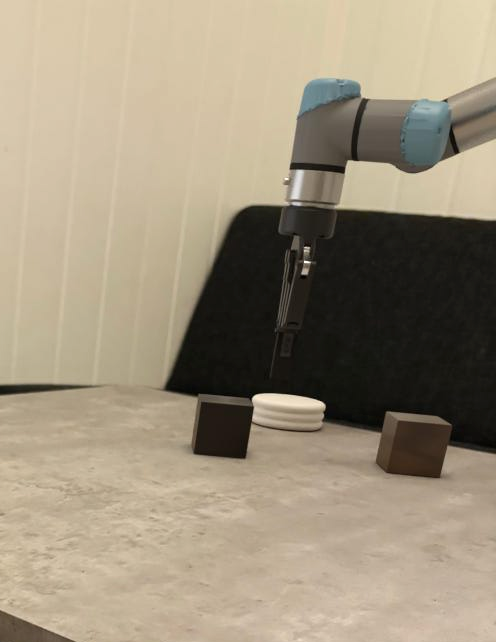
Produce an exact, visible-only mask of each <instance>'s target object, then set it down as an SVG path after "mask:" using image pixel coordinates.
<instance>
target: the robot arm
mask: <svg viewBox="0 0 496 642" xmlns="http://www.w3.org/2000/svg"><path fill="white" fill-rule="evenodd" d="M361 91H362V86H361V84H360V83H359V82H358V81H355V80H352V79H346V78H336V77H333V78H332V77H325V78H324V77H321V78H315V79H312V80H310V81H308V82H307V83H306V85H305V86H304V89H303V92H302V96H301V102H300V105H299V110H298V114H297V116H296V118H295V119H296V125H295V130H294V131H295V132H294V138H293V145H292V150H291V151H292V152H291V158H290V164H289V169H288V170H289V171H288V177H283V179H282V185H284V186H287V187H286V188H285V193H284V198H283V200H284V201H285V202H287V205H283V208H281V214H280V219H279V225H278V233H279V234H280V235H285V236H293V240H292V243H291V247H290V249H286V252H285V255H284V256H285V257H284V270H283V271H284V273H283V277H282V280H283V281H282V286H281V293H280V301H279V306H278V307H279V308H278V313H277V319H276V326H277V327H275V328H274V333H276V337H275V342H274V343H275V344H274V349H273V353H272V354H273V355H272V360H271V366H270V372H269V379H270V380H279V381H290V377H291V372H292V367H293V361H294V356H295V351H296V344H297V340H298V334H301V332H302V329H303V322H304V318H305V313H306V309H307V305H308V300H309V295H310V290H311V286H312V281H313V277H314V274H315V271H316V269H317V265H318V264H317V263H318V257H319V252H317V251H316V244H317V243H316V240H317V239H331V238H332V237H333V236H334V233H335V227H336V223H337V218H338V217H337V216H338V212H337V210H336V209H335V207H336V206H338V205H340V202H341V198H342V193H343V189H344V188H343V187H344V182H345V177H346V167H347V164H348V161H350V162H351V161H352V162H366V163H377V164H389V165H392V166H393V167H395V168H396V169H398V170H399V171H401V172H404V173H406V174H410V175H411V174H412V175H413V174H420V173H423V172H427V171H428V170H431V169H432V168H434V167H435V166H436V165H438V164H439V163H441V162H443V161H445V160H448V159H450V158H453V157H454V156H457V155H459V154H461V153H464V152H466V151H469V150H472V149H474V148H477V147H479V146H482V145H484V144H486V143H487V144H488V143H489V142H491V141H494V140H496V76H494V77H492V78H490V79H487V80H485V81H483V82H481V83H478V84H476V85H474V86H471V87H470V88H466V89H465V90H462V91H460V92H457V93H455V94H453V95H451V96H448V97H447V98H444V99H442V100H440V101H439V100H429V99H428V98H421V99H377V98H376V99H375V98H366V97H362V94H361Z"/></svg>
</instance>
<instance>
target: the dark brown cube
mask: <svg viewBox="0 0 496 642" xmlns="http://www.w3.org/2000/svg"><path fill="white" fill-rule="evenodd" d="M253 412H254V406H253V403H252V400H250V398H249V397H238V396H237V397H236V396H228V395H227V396H225V395H215V394H207V393H198V395H197V402H196V408H195V415H194V422H193V429H192V437H191V448H192V451H193V454H194V455H202V456H203V455H205V456H215V457H223V458H224V457H225V458H235V459H244V460H245V459H247V454H248V449H249V441H250V435H251V430H252V424H253V422H252V418H253Z"/></svg>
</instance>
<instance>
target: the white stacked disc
mask: <svg viewBox="0 0 496 642" xmlns="http://www.w3.org/2000/svg"><path fill="white" fill-rule="evenodd" d="M251 402H252V404H253V406H254V412H253V418H252V423H253V424H256V425H260V426H263V427H267V428H271V429H278V430H284V431H295V432H309V431H317V430H319V429H321V428H322V427H323V421H322V420H323V419H324V418H325V413H324V412H325V411H326V408H327V407H326V404H325V403H324V402H323V401H320V400H318V399H316V398H315V399H314V398H311V397H307V396H301V395H293V394H285V393H258V394H255V395H253V396H252V398H251Z"/></svg>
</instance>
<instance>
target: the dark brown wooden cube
mask: <svg viewBox="0 0 496 642" xmlns="http://www.w3.org/2000/svg"><path fill="white" fill-rule="evenodd" d="M452 430H453V424H451V423H449V422H448V421H446V420H445V419H443V418H441V417H439V416H438V415H429V414H419V413H418V414H416V413H407V412H396V411H386V412H385V415H384V421H383V425H382V430H381V435H380V440H379V443H378V449H377V453H376V458H375V463H376V464H377V465H378V466H379V467H381V468H382V469H383V470H384V471H385V472H386V473H387V474H395V475H397V474H399V475H407V476H416V477H417V476H418V477H426V478H427V477H428V478H437V479H438V478H441V475H442V471H443V468H444V467H443V466H444V462H445V458H446V454H447V450H448V446H449V443H450V437H451V434H452Z"/></svg>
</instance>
